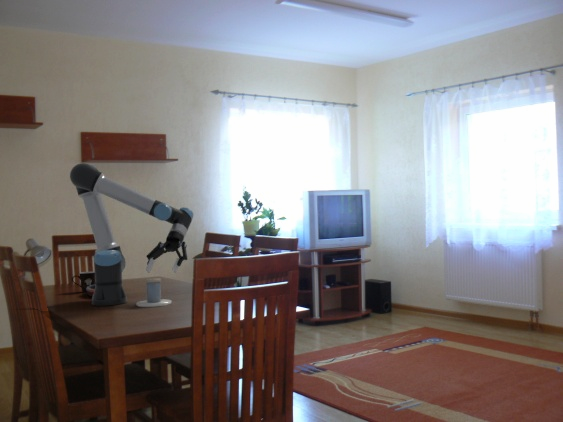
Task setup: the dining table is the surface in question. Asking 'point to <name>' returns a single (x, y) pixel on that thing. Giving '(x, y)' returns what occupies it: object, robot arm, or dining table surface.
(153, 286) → the jar
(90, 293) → the dish
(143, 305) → the plate
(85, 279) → the coffee mug
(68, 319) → the dining table surface
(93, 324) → the dining table surface
